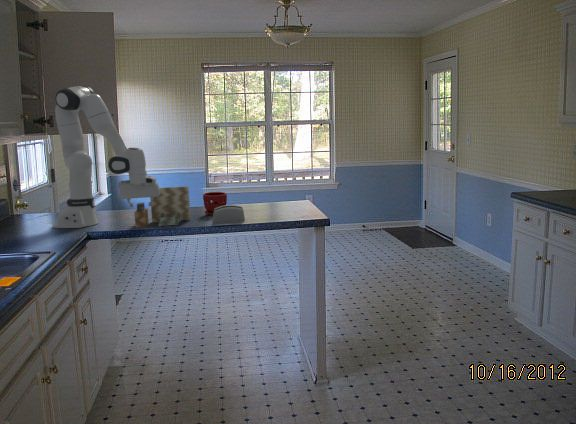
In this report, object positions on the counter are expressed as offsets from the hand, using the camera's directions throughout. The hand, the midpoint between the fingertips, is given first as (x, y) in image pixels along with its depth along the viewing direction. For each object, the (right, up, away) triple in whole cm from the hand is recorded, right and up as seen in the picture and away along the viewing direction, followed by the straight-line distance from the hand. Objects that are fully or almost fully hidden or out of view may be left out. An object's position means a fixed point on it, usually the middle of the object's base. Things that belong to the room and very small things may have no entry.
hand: (141, 206), depth 284 cm
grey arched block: (+45, -8, +3) cm, 45 cm away
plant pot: (+35, -5, +26) cm, 44 cm away
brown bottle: (0, -10, +2) cm, 10 cm away
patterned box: (+14, -9, +4) cm, 17 cm away
